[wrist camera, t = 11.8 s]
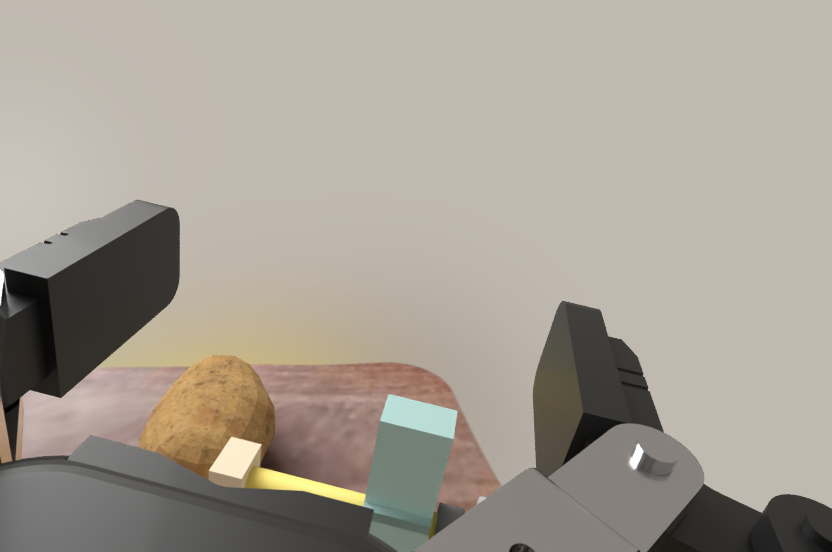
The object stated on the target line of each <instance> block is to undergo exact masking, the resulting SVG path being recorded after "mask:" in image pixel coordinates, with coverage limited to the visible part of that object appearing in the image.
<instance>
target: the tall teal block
mask: <svg viewBox="0 0 832 552" xmlns="http://www.w3.org/2000/svg"><path fill="white" fill-rule="evenodd" d="M456 417H457V411H456V410H452V409H448V408H444V407H440V406H436V405H432V404H427V403H423V402H419V401H415V400H411V399H407V398H403V397H399V396H395V395H391V394H389V395H388V398H387V401H386V404H385V407H384V410H383V413H382V416H381V419H380V424H379V429H378V434H377V439H376V444H375V450H374V455H373V460H372V465H371V470H370V476H369V481H368V486H367V491H366V496H365V501H364V505H363V507H367V508H371V509H374V512H373V517H372V522H371V526H370V531H369V533H370V534H372V535H373V536H375V537H377V538H379V539H381V540H382V541H384V542H385V543H387V544H388V545H389V546H391V547H392V548H394V549H395V550H397V551H398V552H412V551H414V550H415V549H417V548H418V547H419V546H421V545H422V544H423V543H425V542H426V541H427V539H428V535H429V531H430V528H431V522H432V517H433V513H434V509H435V506H436V502H437V498H438V495H439V491H440V487H441V483H442V480H443V476H444V472H445V469H446V465H447V461H448V457H449V454H450V450H451V446H452V442H453V438H454V431H455V424H456Z"/></svg>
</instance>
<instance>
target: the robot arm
mask: <svg viewBox="0 0 832 552" xmlns="http://www.w3.org/2000/svg"><path fill="white" fill-rule="evenodd" d="M179 235H180V222H179V216H178V213H177V211H176V210H175V209H174V208H170V207H166V206H162V205H157V204H153V203H149V202H145V201H140V200H135V201H133V202H131V203H129V204H127V205H125V206H123V207H121V208H119V209H117V210H115V211H113V212H111V213H109V214H108V215H106V216H104V217H102V218H97V219H93V220H88V221H84V222H80V223H78V224H76V225H74V226H72V227H70V228H68V229H66V230H64V231H62V232H61V234H60V235H58V234H57V235H54V236H52V237H50V238H48V239H46V240H45V241H44V243H38V244H36V245H35V246H32V247H30V248H28V249H26V250H24V251H22V252H21V253H18V254H16V255H14V256H12V257H10V258H8V259H6V260H4V261H2V262H0V552H398V551H397V550H395V549H394V548H392V547H391V546H389V545H388V544H387V543H385V542H384V541H382V540H381V539H379V538H377V537H375V536H373V535H372V534H370V533H369V531H370V526H371V522H372V517H373V512H374V509H371V508H367V507H363V506H359V505H355V504H352V503H348V502H344V501H340V500H336V499H332V498H329V497H325V496H321V495H317V494H313V493H310V492H306V491H298V490H277V489H256V488H235V487H224V486H220V485H217V484H215V483H213V482H211V481H209V480H208V479H206V478H204V477H202V476H200V475H198V474H196V473H195V472H193V471H191V470H189V469H187V468H185V467H184V466H182V465H180V464H178V463H176V462H174V461H172V460H171V459H169V458H167V457H165V456H163V455H161V454H160V453H157V452H153V451H149V450H145V449H142V448H138V447H134V446H130V445H126V444H122V443H119V442H115V441H111V440H107V439H103V438H100V437H96V436H92V435H90V436H89V437H88V438H87V439H86V440H85V441H84V442H83V443H82V444H81V445H80V446H79V447H78V448H77V449H76V450H75V451H74V452H73V453H72V454H71V455H70V456H63V455H62V456H42V457H34V458H26V459H21V452H22V436H23V419H24V408H23V401H22V396H23V395H24V394H25V393H27V392H28V391H29V390H32V391H36V392H40V393H44V394H47V395H51V396H55V397H59V398H61V397H63V396H64V395H65V394H66V393H67V392H68V391H70V390H71V389H72V388H73V387H74V386H75V385H76V384H78V383H79V382H80V381H81V380H82V379H83V378H85V377H86V376H87V375H88V374H89V373H90V372H92V371H93V370H94V369H95V368H96V367H97V366H98V365H100V364H101V363H102V362H103V361H104V360H105V359H107V358H108V357H109V356H110V355H111V354H112V353H113V352H115V351H116V350H117V349H118V348H119V347H120V346H122V345H123V344H124V343H125V342H126V341H127V340H128V339H130V338H131V337H132V336H133V335H134V334H135V333H137V332H138V331H139V330H140V329H141V328H142V327H143V326H145V325H146V324H147V323H148V322H149V321H150V320H152V319H153V318H154V317H155V316H156V315H157V314H158V313H160V312H161V311H162V310H163V309H164V308H165V307H167V306H168V304H170V302H171V301H172V299H173V298H174V296H175V294H176V291H177V288H178V284H179V275H180V274H179V272H180V271H179V270H180V269H179V268H180V266H179V265H180V262H179V261H180V258H179V257H180V254H179V253H180V246H179V245H180V240H179V239H180V237H179ZM533 407H534V429H535V451H536V468H529V469H527V470H525V471H523V472H522V473H520V474H519V475H517V476H516V477H515V478H513V479H512V480H511V481H509V482H508V483H506V484H505V485H504V486H502V487H501V488H499V489H498V490H497V491H495V492H494V493H493V494H491V495H490V496H488V497H487V498H486V499H484V500H483V501H481V502H480V503H479V504H477V505H476V506H475V507H473V508H472V509H470V510H469V511H468V512H466V513H465V514H464V515H462V516H461V517H459V518H458V519H457V520H455V521H454V522H452V523H451V524H450V525H448V526H447V527H446V528H444V529H443V530H441V531H440V532H439V533H437V534H436V535H434V536H433V537H432V538H430V539H429V540H428V541H426V542H425V543H423V544H422V545H421V546H419V547H418V548H417V549H415V550H414V551H412V552H832V509H831V508H829V507H827V506H825V505H824V504H821V503H819V502H817V501H814V500H811V499H809V498H805V497H802V496H798V495H790V494H785V495H779V496H775V497H774V498H772V499H771V500H770V502H769V503H768V505H767V506H766V508H765V510H764V511H763V513H761V512H758V511H756V510H754V509H752V508H750V507H748V506H746V505H744V504H741V503H739V502H737V501H735V500H733V499H731V498H729V497H727V496H725V495H722V494H720V493H719V492H716V491H714V490H713V489H711V488H709V487H708V486H706V485H705V484H703V483H704V473H703V470H702V467H701V465H700V464H699V462H698V460H697V459H696V458H695V456H694V455H693V454H692V453H691V452H690V451H689V450H688V449H687V448H686V447H685V446H683V445H682V444H681V443H680V442H678V441H677V440H675V439H674V438H672V437H671V436H669V435H667V434H665V433H664V432H663V429H662V426H661V423H660V420H659V417H658V414H657V411H656V409H655V406H654V403H653V400H652V397H651V394H650V392H649V391H648V386H647V383H646V380H645V377H643V371H642V368H641V366H640V363H639V360H638V357H637V356H636V355H635V354H634V352H633V351H632V350H631V349H630V348H629V347H628V346H627V345H626V344H625V343H624V342H623V341H622V340H621V339H617V338H612V337H609V336H608V335H607V331H606V327H605V324H604V320H603V317H602V313H601V311H600V310H599V309H595V308H591V307H587V306H582V305H578V304H574V303H570V302H565V301H562V302H561V303H560V305H559V307H558V309H557V311H556V314H555V317H554V320H553V323H552V326H551V329H550V332H549V335H548V338H547V341H546V344H545V347H544V350H543V353H542V356H541V359H540V362H539V365H538V368H537V372H536V376H535V381H534V387H533Z"/></svg>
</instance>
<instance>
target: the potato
mask: <svg viewBox="0 0 832 552" xmlns="http://www.w3.org/2000/svg"><path fill="white" fill-rule="evenodd" d="M274 434H275V413H274V405H273V404H272V402H271V400H270V398H269V396H268V394H267V392H266V390H265V388H264V386H263V384H262V382H261V380H260V378H259V376H258V374H257V373H256V372H255V371H254V369H253V368H252V367H251V366H250V365H249V364H248V363H246V362H244V361H242V360H241V359H239V358H237V357H235V356H221V355H220V356H219V355H213V356H211V357H209V358H207V359H204V360H202V361H200V362H198V363H196V364H194V365H192V366H191V367H190V368H189V369H188V370H187V371H186V372H185V373H184V374H183V375H182V376H181V377H180V378H179V379H178V380H177V381H176V382H175V383H174V384H173V385H172V386H171V388H170V389H169V390H168V391H167V392H166V394H165V395H164V396H163V397H162V399H161V400H160V402H159V403H158V405H157V406H156V407H155V409H154V410H153V412H152V414H151V416H150V418H149V420H148V422H147V424H146V426H145V428H144V430H143V432H142V434H141V436H140V448H142V449H145V450H149V451H153V452H157V453H160V454H161V455H163V456H165V457H167V458H169V459H171V460H172V461H174V462H176V463H178V464H180V465H182V466H184V467H185V468H187V469H189V470H191V471H193V472H195V473H196V474H198V475H200V476H202V477H204V478H206V479H208V480H209V470H210V468H211V467H212V465H213V464H214V462H215V461H216V459H217V458H218V456H219V455H220V453H221V452H222V450H223V449H224V447H225V446H226V444H227V443H228V441H229V440H230V438H231V437H234V438H238V439H242V440H246V441H250V442H254V443H258V444H262V446H261V458H260V463H261V461H262V459H263V457H264V455H265V453H266V451H267V449H268V447H269V445H270V443H271V440H272V438H273V436H274Z"/></svg>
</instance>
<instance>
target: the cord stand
mask: <svg viewBox="0 0 832 552" xmlns="http://www.w3.org/2000/svg"><path fill="white" fill-rule="evenodd" d="M261 446H262V444H258V443H254V442H250V441H246V440H242V439H238V438H234V437H231V438H230V440H229V441H228V443H227V444H226V446H225V447H224V449H223V450H222V452H221V453H220V455H219V456H218V458H217V459H216V461H215V462H214V464H213V465H212V467H211V468H210V470H209V481H211V482H213V483H215V484H217V485H220V486H224V487H235V488H256V489H277V490H298V491H306V492H310V493H313V494H317V495H321V496H325V497H329V498H332V499H336V500H340V501H344V502H348V503H352V504H355V505H359V506H363V505H364V501H365V496H366V494H362V493H358V492H354V491H351V490H347V489H343V488H339V487H335V486H331V485H327V484H323V483H319V482H316V481H312V480H308V479H304V478H300V477H296V476H292V475H288V474H284V473H281V472H277V471H273V470H269V469H265V468H261V467H260V458H261ZM484 499H486V498H485V497H481V496H479V499H478V502H477V504H479V503H480V502H481V501H483V500H484ZM464 513H465V510H464V509H463V508H459V507H455V506H451V505H447V504H443V503H440V504H439V507H438V510H437V513H436V512H434V513H433V517H432V522H431V528H430V531H429V535H428V539H427V540H429V539H430V538H432V537H433V536H434V535H436V534H437V533H439V532H440V531H441V530H443V529H444V528H446V527H447V526H448V525H450V524H451V523H452V522H454V521H455V520H457V519H458V518H459V517H461V516H462V515H464Z"/></svg>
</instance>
